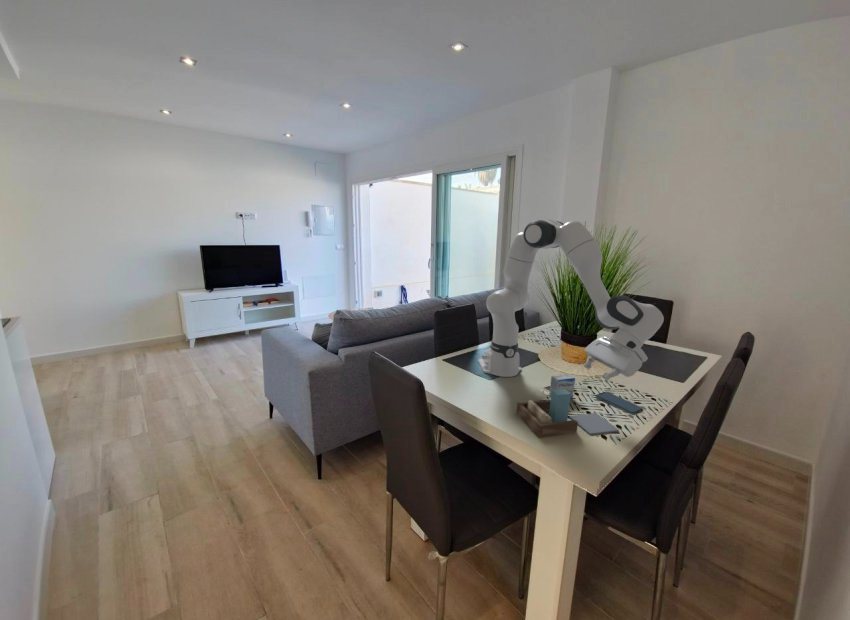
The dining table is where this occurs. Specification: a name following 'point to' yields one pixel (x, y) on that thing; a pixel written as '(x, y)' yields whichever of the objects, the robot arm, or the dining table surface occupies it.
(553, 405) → the teal rectangular block
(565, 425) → the tray
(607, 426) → the grey mat
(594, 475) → the dining table surface
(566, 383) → the medicine box
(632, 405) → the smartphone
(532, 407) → the offcut stack
